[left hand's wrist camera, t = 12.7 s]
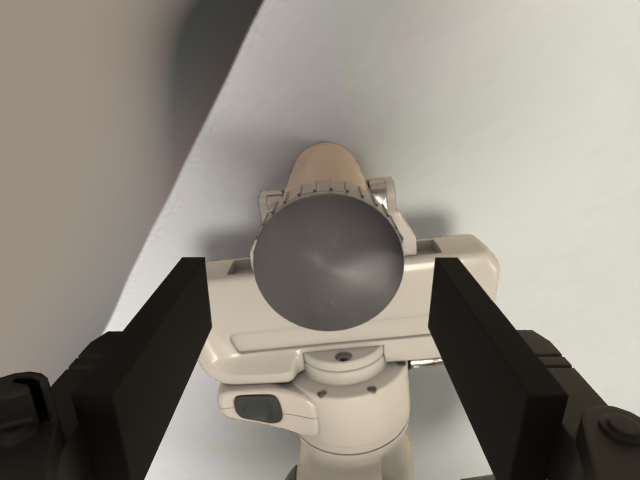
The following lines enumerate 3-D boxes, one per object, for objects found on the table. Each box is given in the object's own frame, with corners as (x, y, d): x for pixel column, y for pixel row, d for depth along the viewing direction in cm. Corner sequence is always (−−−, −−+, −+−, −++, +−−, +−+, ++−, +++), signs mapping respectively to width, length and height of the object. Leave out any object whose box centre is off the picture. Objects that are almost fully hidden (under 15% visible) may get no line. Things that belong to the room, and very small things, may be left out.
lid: (250, 183, 17) (240, 197, 15) (396, 172, 17) (406, 184, 15) (268, 310, 19) (261, 337, 17) (398, 302, 19) (407, 328, 17)
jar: (288, 145, 30) (254, 203, 15) (359, 139, 30) (393, 193, 15) (295, 212, 32) (271, 323, 17) (362, 207, 32) (395, 315, 17)
